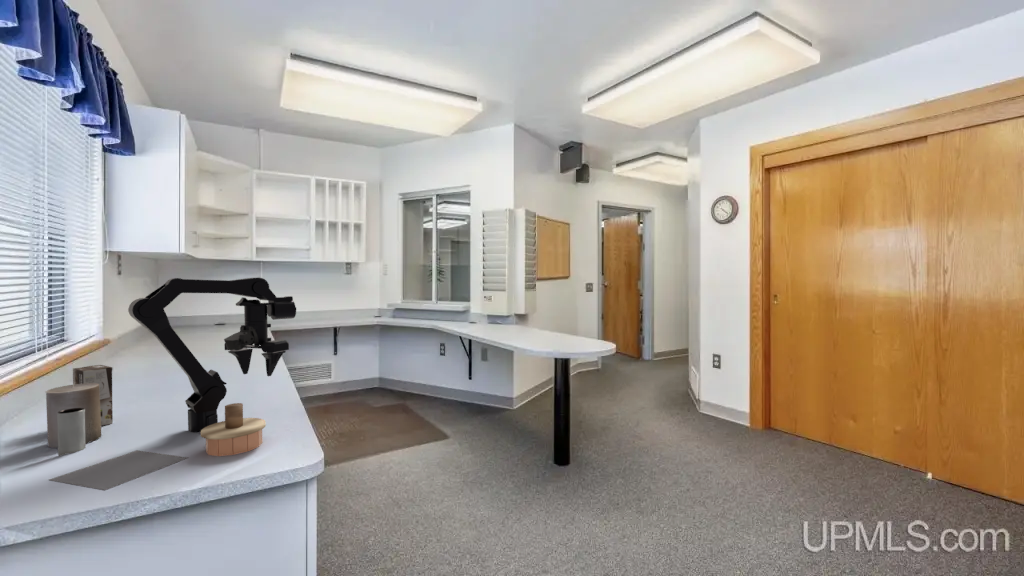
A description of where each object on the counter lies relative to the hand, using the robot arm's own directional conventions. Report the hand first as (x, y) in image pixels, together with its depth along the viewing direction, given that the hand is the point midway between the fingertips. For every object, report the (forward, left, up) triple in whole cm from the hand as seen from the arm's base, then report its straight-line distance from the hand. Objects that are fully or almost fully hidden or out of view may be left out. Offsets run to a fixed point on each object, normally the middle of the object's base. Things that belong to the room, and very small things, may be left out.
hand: (257, 375), depth 128 cm
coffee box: (-43, -15, -13) cm, 47 cm away
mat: (+2, -36, -13) cm, 38 cm away
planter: (-21, -32, -13) cm, 40 cm away
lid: (+14, -20, -8) cm, 26 cm away
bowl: (+14, -20, -13) cm, 28 cm away
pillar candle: (-31, -26, -13) cm, 43 cm away
